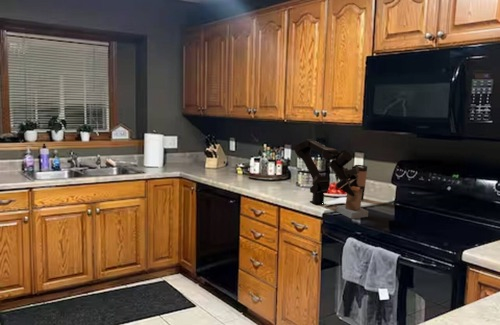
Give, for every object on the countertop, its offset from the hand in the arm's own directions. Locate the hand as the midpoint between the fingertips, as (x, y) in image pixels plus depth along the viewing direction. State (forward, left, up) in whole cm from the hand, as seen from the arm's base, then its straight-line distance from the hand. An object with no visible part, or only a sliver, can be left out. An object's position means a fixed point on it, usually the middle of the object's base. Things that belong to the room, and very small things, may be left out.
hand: (357, 194), depth 230 cm
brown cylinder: (-1, -1, -8) cm, 8 cm away
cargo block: (-1, -1, 0) cm, 1 cm away
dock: (-1, -1, -11) cm, 11 cm away
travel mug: (-25, +22, -11) cm, 35 cm away
